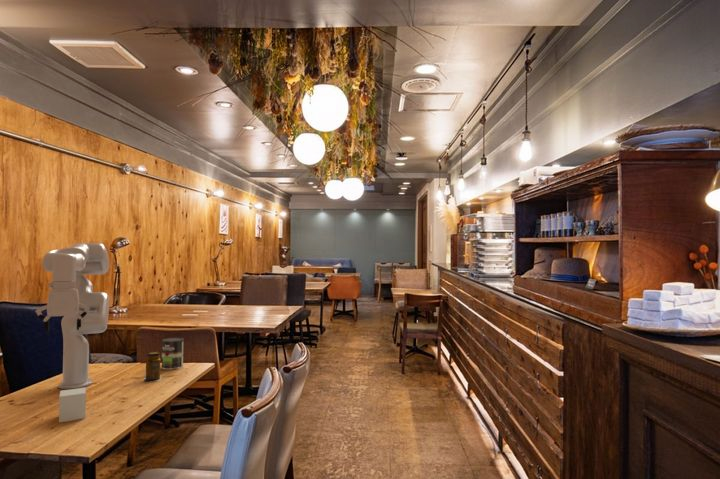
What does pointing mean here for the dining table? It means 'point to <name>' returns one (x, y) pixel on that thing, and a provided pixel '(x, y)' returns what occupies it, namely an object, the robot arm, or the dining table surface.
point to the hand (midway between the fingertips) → (62, 330)
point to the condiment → (153, 367)
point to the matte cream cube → (72, 404)
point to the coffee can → (172, 353)
